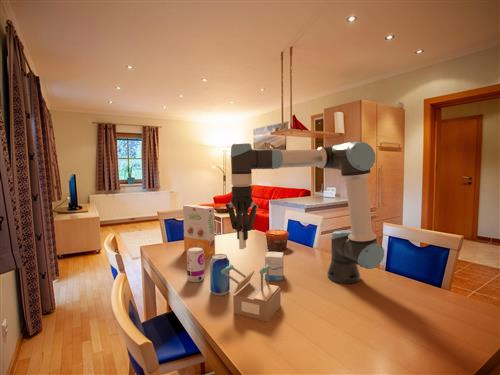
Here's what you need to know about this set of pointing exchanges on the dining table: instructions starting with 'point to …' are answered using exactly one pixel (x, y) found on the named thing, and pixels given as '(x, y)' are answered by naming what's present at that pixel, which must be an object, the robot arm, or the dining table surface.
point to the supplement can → (195, 264)
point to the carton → (255, 302)
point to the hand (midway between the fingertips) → (242, 248)
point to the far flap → (240, 284)
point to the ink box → (274, 265)
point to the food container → (277, 239)
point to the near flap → (268, 289)
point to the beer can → (219, 275)
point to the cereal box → (199, 228)
